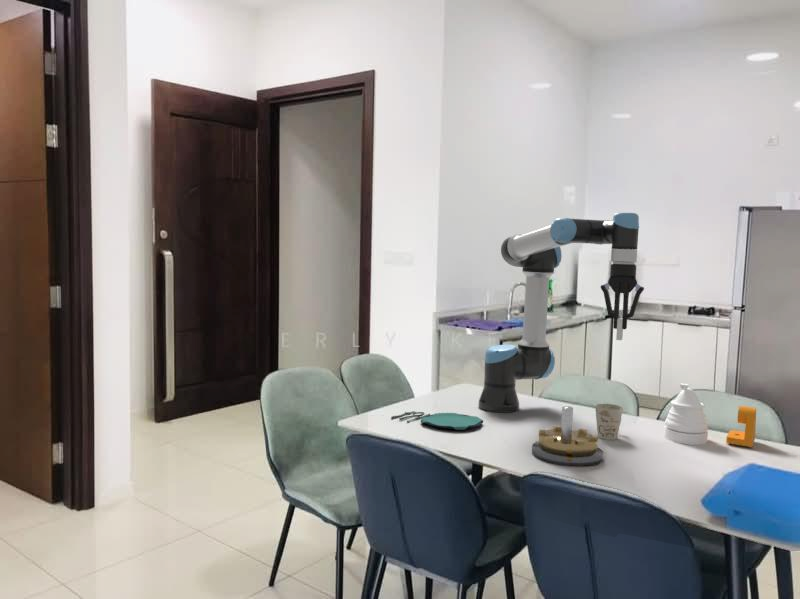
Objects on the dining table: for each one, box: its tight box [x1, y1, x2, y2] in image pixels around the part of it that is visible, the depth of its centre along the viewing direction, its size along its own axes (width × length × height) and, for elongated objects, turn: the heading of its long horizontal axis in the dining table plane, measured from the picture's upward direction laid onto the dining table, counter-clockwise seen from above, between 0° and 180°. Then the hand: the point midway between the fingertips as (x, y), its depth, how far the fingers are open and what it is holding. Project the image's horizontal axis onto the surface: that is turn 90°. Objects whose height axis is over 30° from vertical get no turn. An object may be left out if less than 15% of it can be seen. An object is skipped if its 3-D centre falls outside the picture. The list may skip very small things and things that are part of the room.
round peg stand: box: [537, 405, 599, 456], centre depth 193 cm, size 17×17×13 cm
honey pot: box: [663, 383, 709, 445], centre depth 215 cm, size 13×13×18 cm
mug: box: [594, 403, 623, 441], centre depth 216 cm, size 8×13×10 cm, turn 137°
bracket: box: [725, 405, 757, 448], centre depth 212 cm, size 11×7×12 cm, turn 147°
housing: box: [531, 440, 604, 468], centre depth 193 cm, size 20×20×2 cm
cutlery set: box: [390, 410, 484, 431], centre depth 228 cm, size 20×30×2 cm, turn 56°
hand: (619, 339), depth 207 cm, fingers closed
